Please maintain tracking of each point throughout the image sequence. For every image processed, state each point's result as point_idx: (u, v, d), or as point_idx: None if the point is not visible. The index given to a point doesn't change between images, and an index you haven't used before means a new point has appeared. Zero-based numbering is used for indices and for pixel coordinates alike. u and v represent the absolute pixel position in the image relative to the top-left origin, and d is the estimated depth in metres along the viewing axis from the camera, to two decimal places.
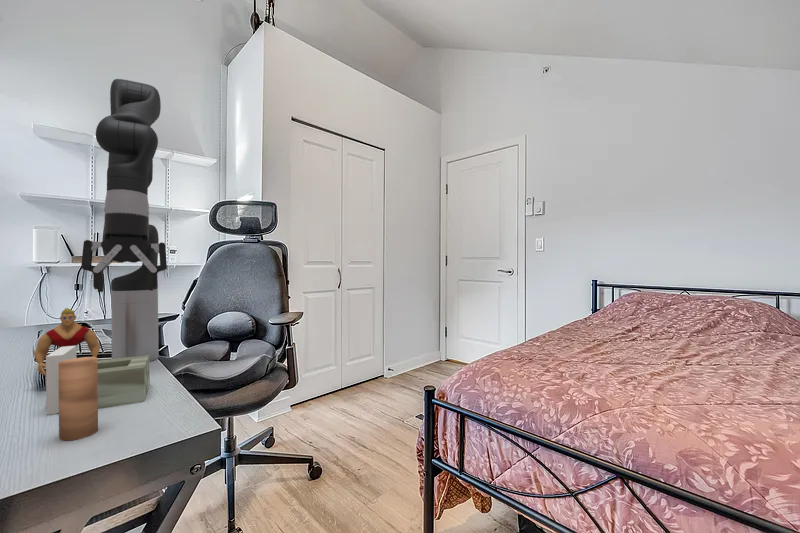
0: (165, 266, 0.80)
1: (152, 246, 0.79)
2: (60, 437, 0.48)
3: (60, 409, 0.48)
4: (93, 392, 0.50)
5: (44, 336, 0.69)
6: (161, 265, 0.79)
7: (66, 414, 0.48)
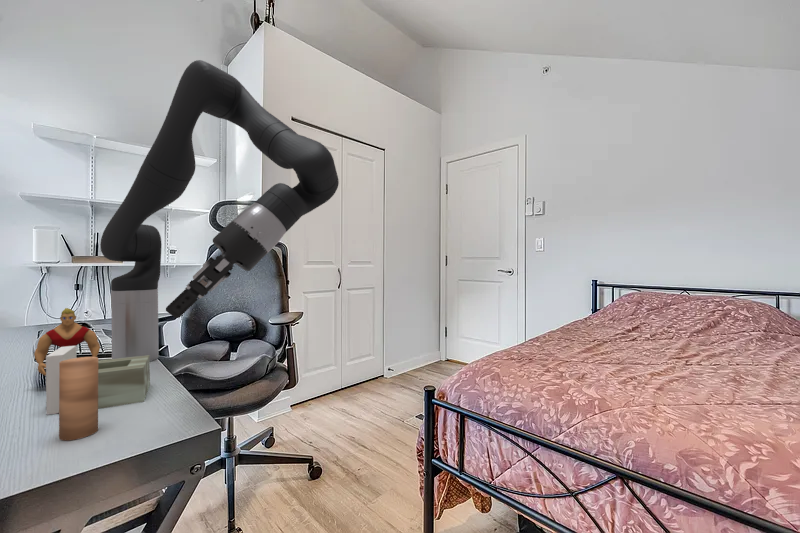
0: None
1: None
2: (60, 437, 0.48)
3: (60, 409, 0.48)
4: (94, 392, 0.50)
5: (44, 336, 0.69)
6: None
7: (66, 414, 0.48)
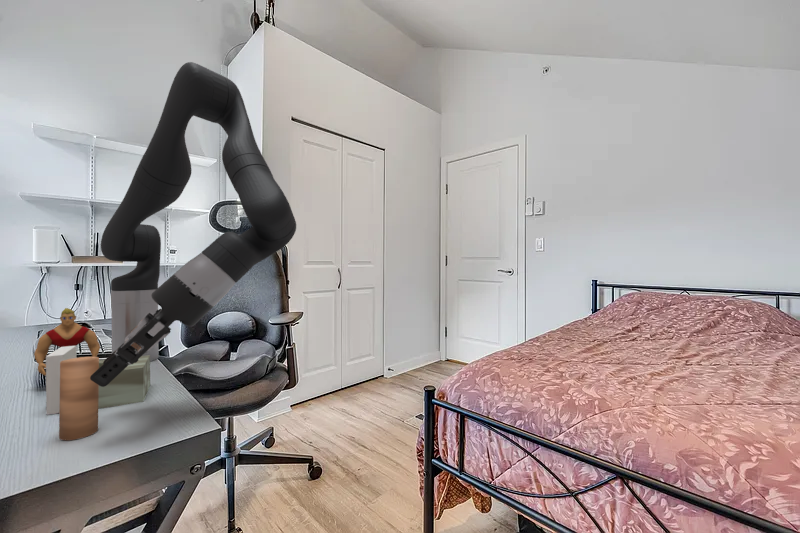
0: None
1: None
2: (60, 437, 0.48)
3: (61, 408, 0.48)
4: (95, 392, 0.50)
5: (44, 336, 0.69)
6: None
7: (67, 413, 0.48)
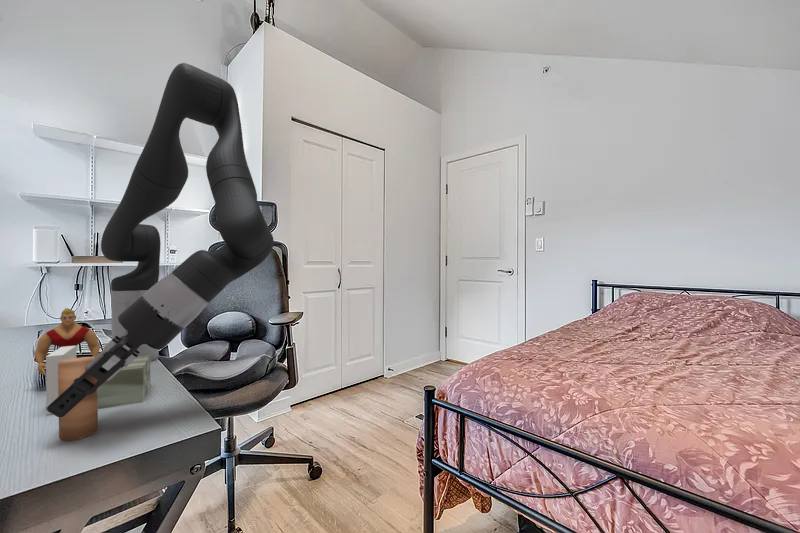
0: None
1: None
2: (60, 437, 0.48)
3: None
4: None
5: (44, 336, 0.69)
6: None
7: (66, 414, 0.48)
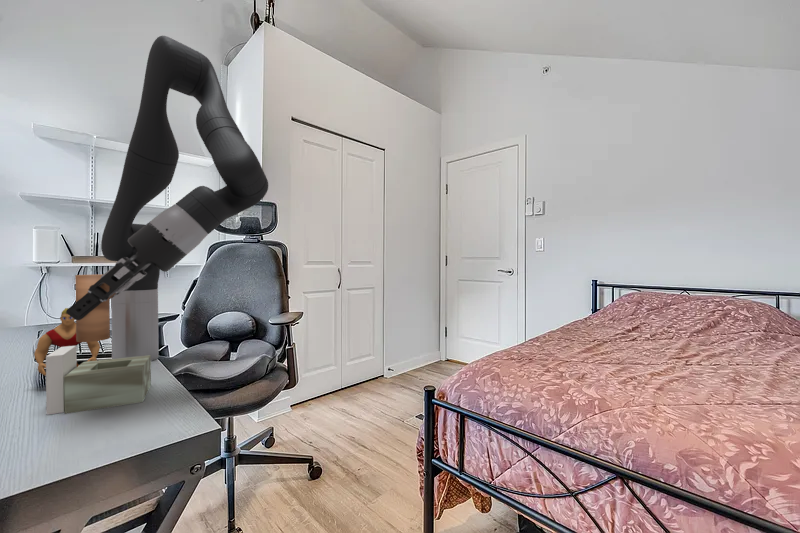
0: (117, 293, 0.62)
1: None
2: (77, 339, 0.55)
3: None
4: (106, 303, 0.57)
5: (44, 336, 0.69)
6: None
7: (83, 319, 0.55)
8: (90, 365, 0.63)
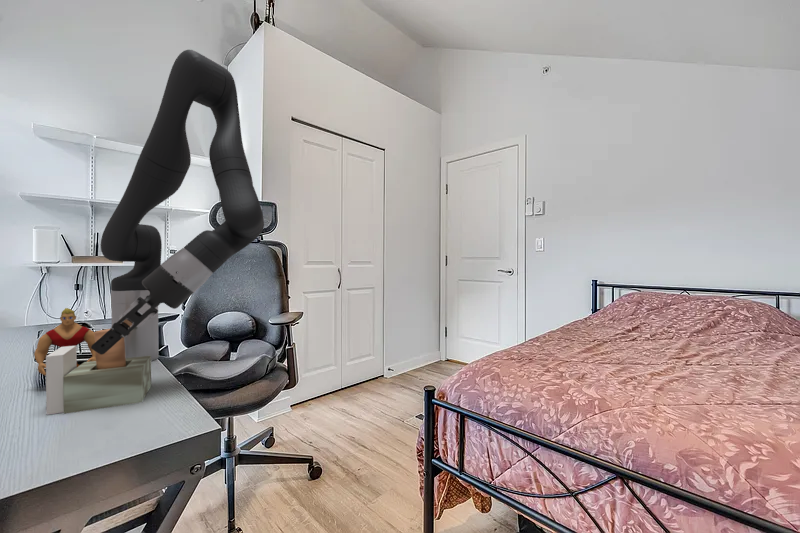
0: None
1: None
2: None
3: (98, 368, 0.62)
4: (122, 355, 0.64)
5: (44, 336, 0.69)
6: None
7: None
8: (90, 365, 0.63)
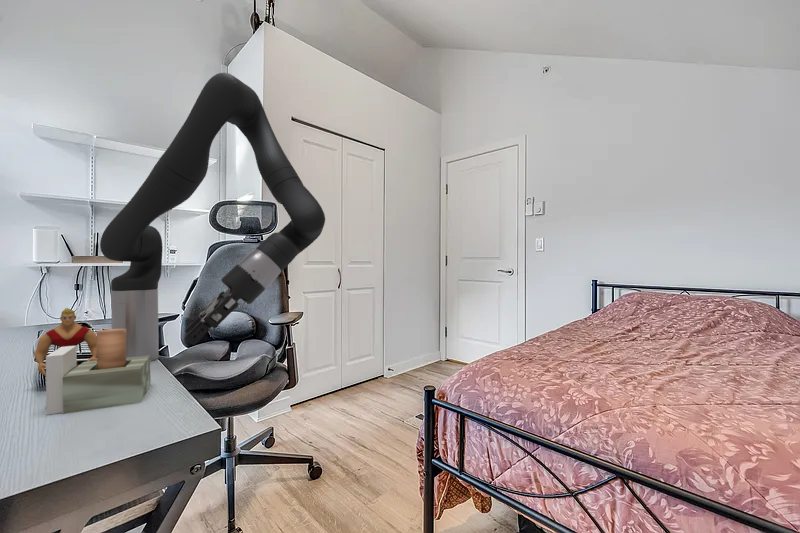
0: None
1: None
2: None
3: (98, 367, 0.62)
4: (123, 355, 0.64)
5: (44, 336, 0.69)
6: None
7: None
8: (89, 365, 0.63)
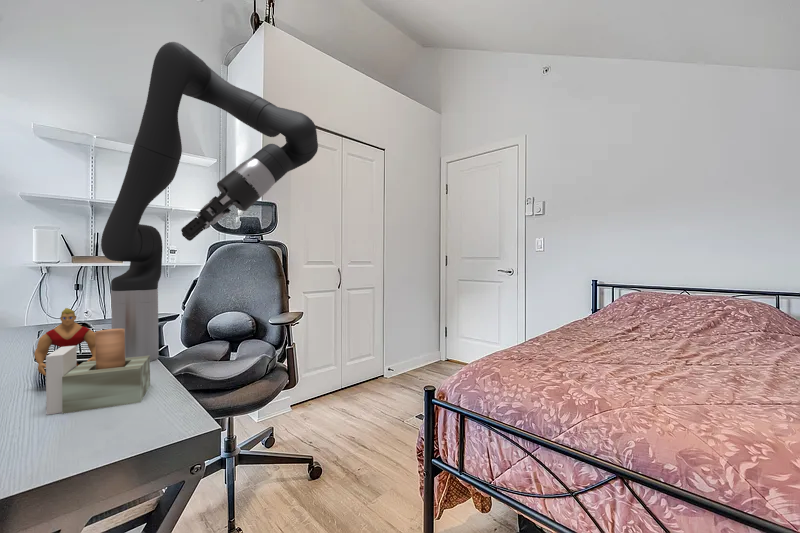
0: None
1: None
2: None
3: (97, 367, 0.62)
4: (122, 355, 0.64)
5: (44, 336, 0.69)
6: (209, 225, 0.79)
7: None
8: (89, 365, 0.63)
